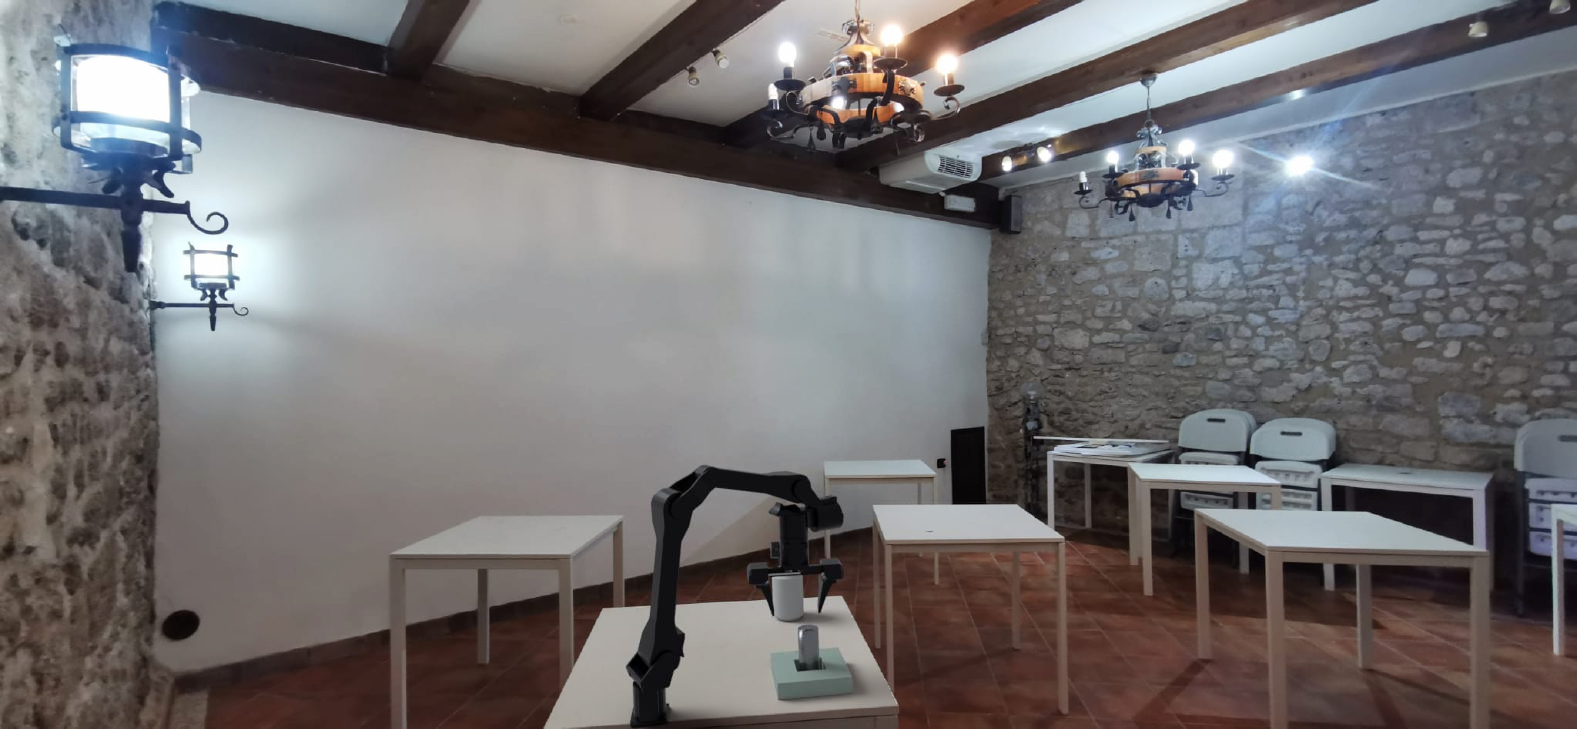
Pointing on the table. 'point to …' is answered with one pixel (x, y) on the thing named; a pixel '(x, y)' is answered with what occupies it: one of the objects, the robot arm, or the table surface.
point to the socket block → (810, 675)
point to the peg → (808, 648)
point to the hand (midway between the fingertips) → (796, 614)
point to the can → (788, 597)
